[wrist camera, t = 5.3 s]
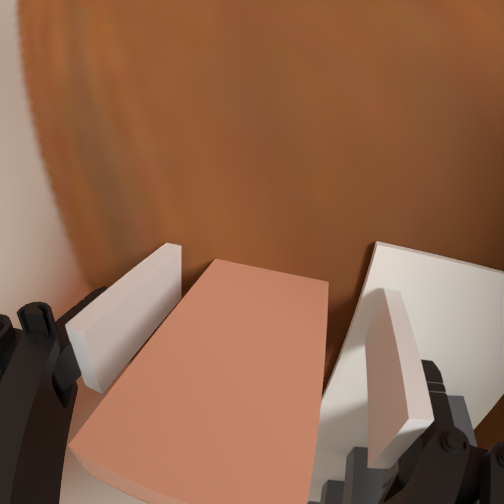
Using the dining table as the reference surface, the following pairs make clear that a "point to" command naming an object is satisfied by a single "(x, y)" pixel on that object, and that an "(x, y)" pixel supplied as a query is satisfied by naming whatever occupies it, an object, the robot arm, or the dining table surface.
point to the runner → (428, 343)
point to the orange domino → (219, 396)
